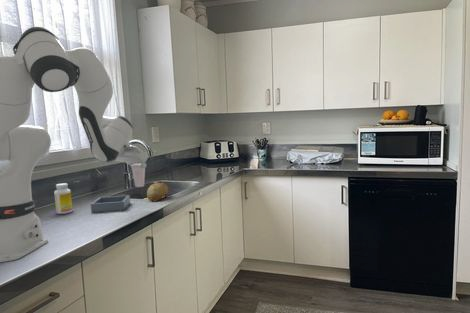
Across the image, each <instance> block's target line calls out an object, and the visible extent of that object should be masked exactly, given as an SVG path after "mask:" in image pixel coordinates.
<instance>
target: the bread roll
mask: <svg viewBox="0 0 470 313" xmlns="http://www.w3.org/2000/svg"><path fill="white" fill-rule="evenodd" d="M168 194H169V186H168V185H167V183H165V182H156V183H153V184H150V186H149V187H148V189H147V192H146V197H147V199H148V200H149V201H151V202H156V201H160V200H161V199H163V198H165V197H166V196H167V195H168Z"/></svg>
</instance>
